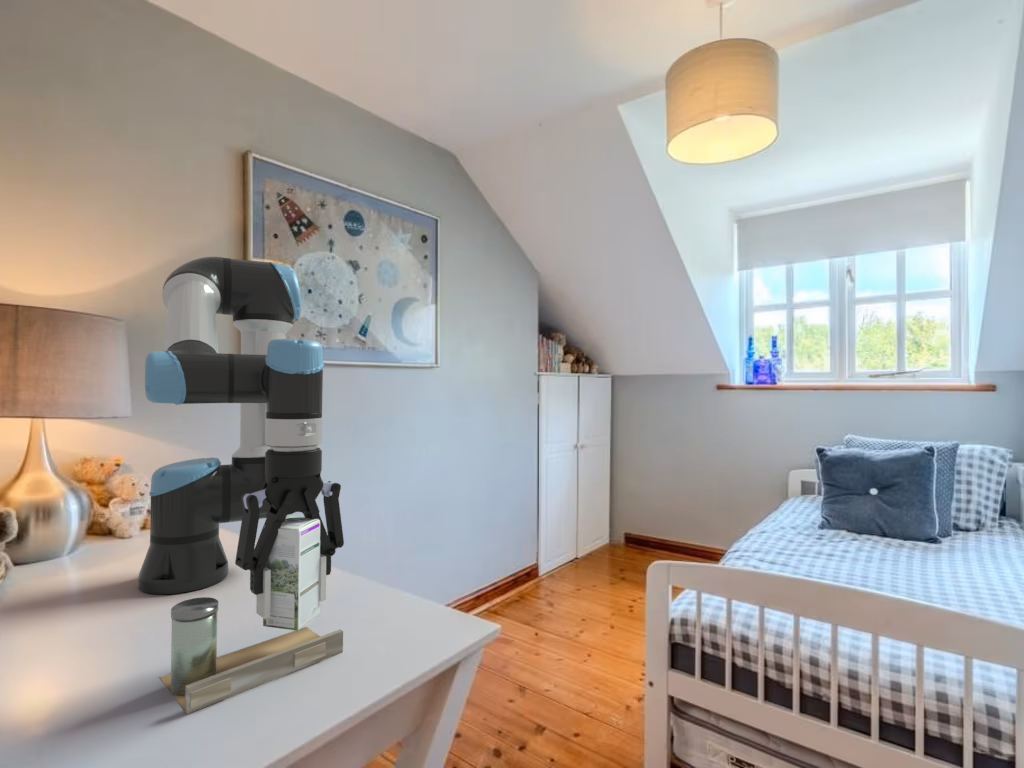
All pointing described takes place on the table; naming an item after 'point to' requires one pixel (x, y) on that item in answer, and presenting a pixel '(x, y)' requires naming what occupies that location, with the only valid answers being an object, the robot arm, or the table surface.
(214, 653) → the sage tin
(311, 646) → the shelf board
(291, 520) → the syrup box
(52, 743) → the table surface
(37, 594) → the table surface
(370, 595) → the table surface
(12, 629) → the table surface
